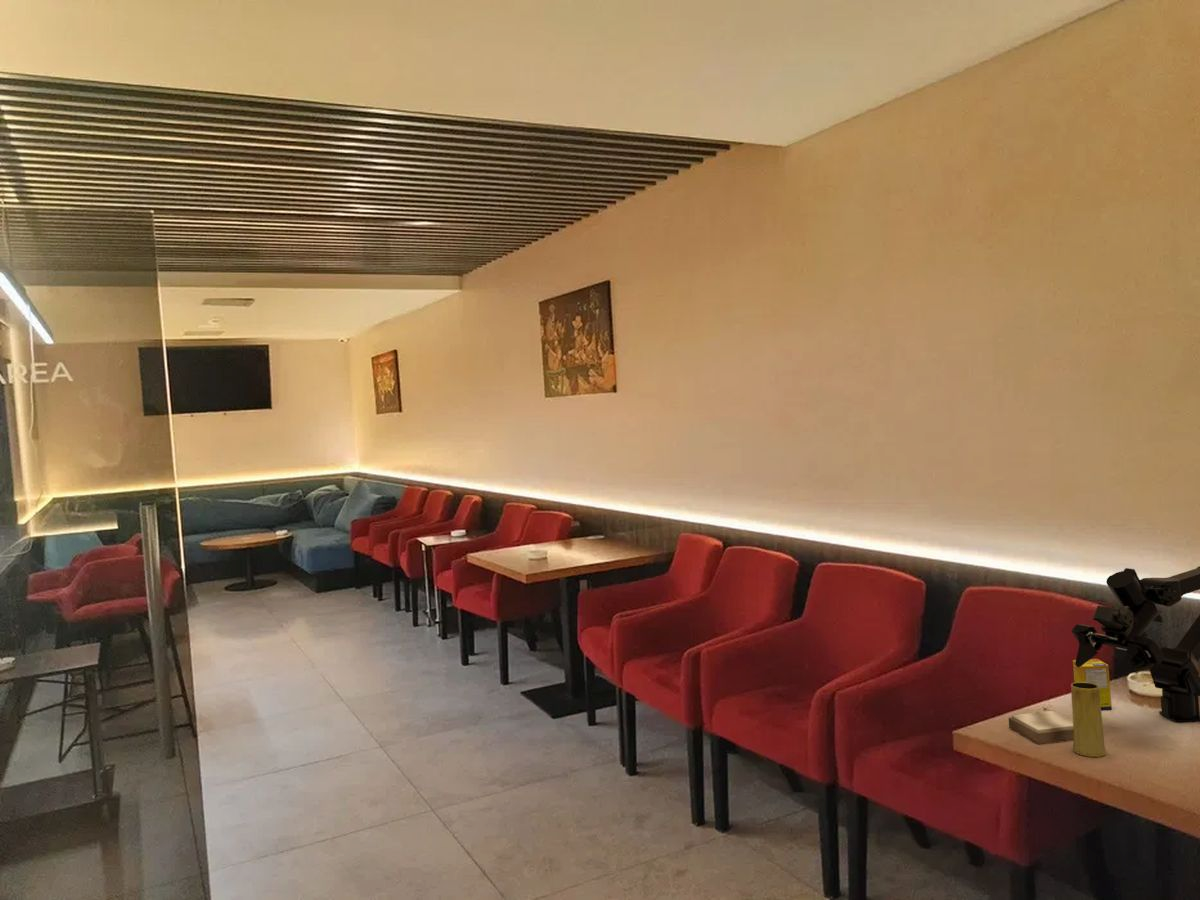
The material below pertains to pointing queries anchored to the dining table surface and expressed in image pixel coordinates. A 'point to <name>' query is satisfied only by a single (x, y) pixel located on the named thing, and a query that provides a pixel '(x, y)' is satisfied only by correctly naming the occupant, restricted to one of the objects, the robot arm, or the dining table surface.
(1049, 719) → the stand
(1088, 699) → the vase
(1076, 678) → the supplement box
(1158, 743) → the dining table surface
